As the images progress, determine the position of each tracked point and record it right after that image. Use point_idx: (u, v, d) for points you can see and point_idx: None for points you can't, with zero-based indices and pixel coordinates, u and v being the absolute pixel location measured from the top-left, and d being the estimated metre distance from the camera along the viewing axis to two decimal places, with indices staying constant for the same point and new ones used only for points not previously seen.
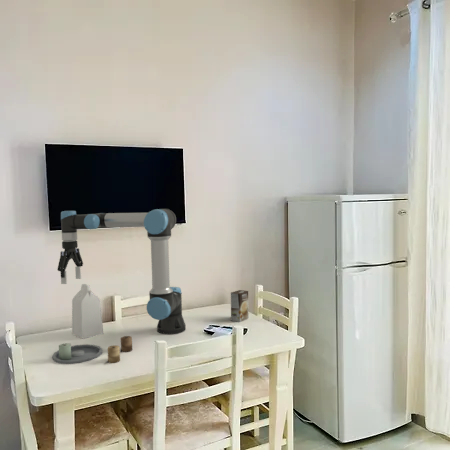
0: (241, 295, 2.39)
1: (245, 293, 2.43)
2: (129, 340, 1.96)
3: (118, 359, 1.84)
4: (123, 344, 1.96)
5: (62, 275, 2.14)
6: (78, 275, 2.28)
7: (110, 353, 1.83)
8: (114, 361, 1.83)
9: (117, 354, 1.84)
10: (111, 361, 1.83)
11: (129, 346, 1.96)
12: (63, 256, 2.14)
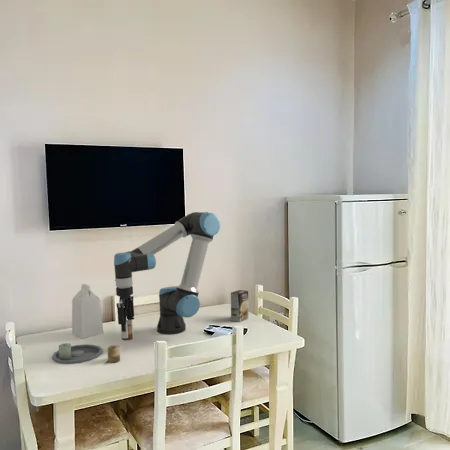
0: (241, 295, 2.39)
1: (245, 293, 2.43)
2: (129, 328, 1.96)
3: (118, 359, 1.84)
4: None
5: (123, 329, 1.94)
6: None
7: (110, 353, 1.83)
8: (114, 361, 1.83)
9: (117, 354, 1.84)
10: (111, 361, 1.83)
11: (130, 334, 1.96)
12: (120, 309, 1.91)
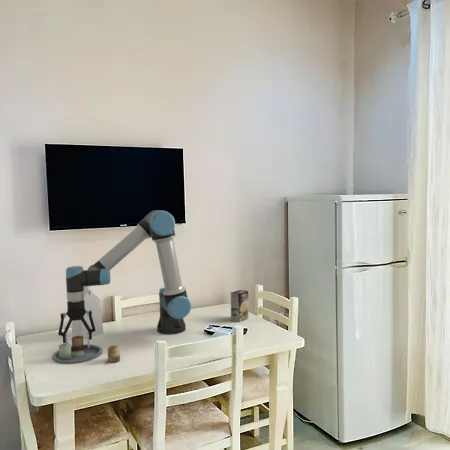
0: (241, 295, 2.39)
1: (245, 293, 2.43)
2: (74, 340, 1.95)
3: (118, 359, 1.84)
4: None
5: (63, 340, 1.95)
6: None
7: (110, 353, 1.83)
8: (114, 361, 1.83)
9: (117, 354, 1.84)
10: (111, 361, 1.83)
11: (74, 346, 1.95)
12: (61, 319, 1.94)
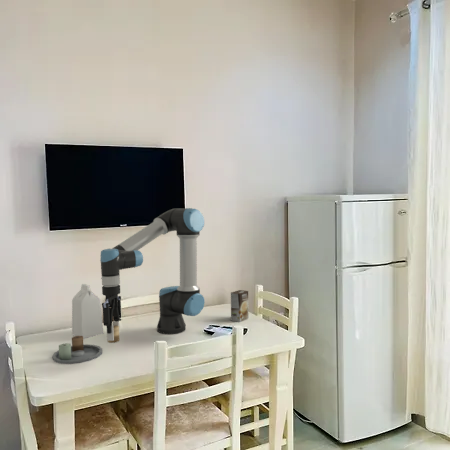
0: (241, 295, 2.39)
1: (245, 293, 2.43)
2: (74, 340, 1.95)
3: (117, 339, 1.84)
4: None
5: (109, 331, 1.80)
6: None
7: None
8: (113, 341, 1.83)
9: (116, 334, 1.83)
10: (110, 341, 1.83)
11: (74, 346, 1.95)
12: (106, 309, 1.78)
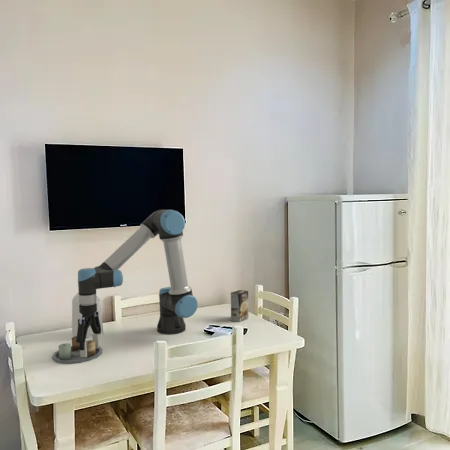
0: (241, 295, 2.39)
1: (245, 293, 2.43)
2: (74, 340, 1.95)
3: (94, 353, 1.90)
4: None
5: (81, 347, 1.84)
6: (96, 344, 1.96)
7: None
8: (90, 355, 1.89)
9: (93, 349, 1.89)
10: (87, 355, 1.88)
11: (74, 346, 1.95)
12: (81, 325, 1.83)
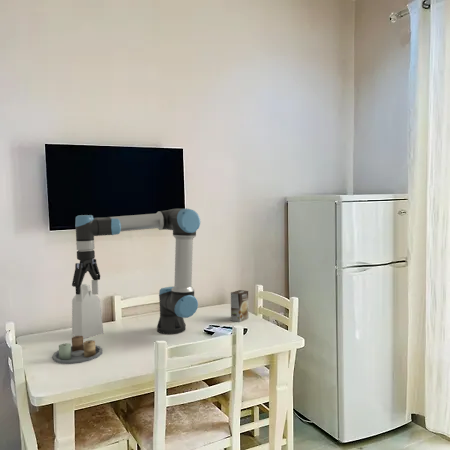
0: (241, 295, 2.39)
1: (245, 293, 2.43)
2: (74, 340, 1.95)
3: (94, 353, 1.90)
4: None
5: (77, 291, 1.81)
6: (95, 290, 1.95)
7: (85, 348, 1.88)
8: (90, 355, 1.89)
9: (93, 349, 1.89)
10: (87, 355, 1.88)
11: (74, 346, 1.95)
12: (78, 269, 1.81)
